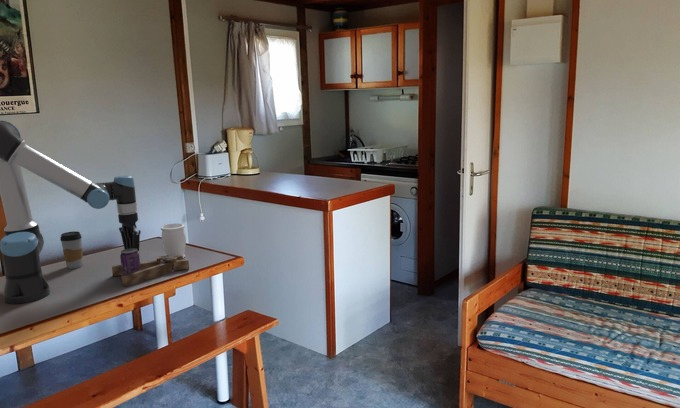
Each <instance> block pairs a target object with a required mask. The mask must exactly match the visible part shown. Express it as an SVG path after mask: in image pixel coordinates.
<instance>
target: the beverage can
mask: <svg viewBox="0 0 680 408" xmlns="http://www.w3.org/2000/svg"><path fill="white" fill-rule="evenodd" d="M119 257H120V258H119V259H120V265H121V267H122V275H121V276H124V275H127V274H130V273H133V272H137V271H140V270H141V266H140V262H141V259H140V257H141V256H140V252H139V251H137V249H135V248H130V249H123V250H120V256H119Z"/></svg>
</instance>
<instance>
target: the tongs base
mask: <svg viewBox="0 0 680 408" xmlns="http://www.w3.org/2000/svg"><path fill="white" fill-rule="evenodd" d="M174 257H177V260H183V259H184V258H183V256H182V255H178V256H174ZM173 267H174V262H173V261H168V262H167V261H164V262H161V264H159V265H156V266H153V267H150V268H146V269H143V270H140V271H137V272H133V273H130V274H127V275H124V276H123V275H120V278H121V285H122V287H124V288H127V287H130V286H133V285H136V284H139V283H143V282H145V281H147V280H151V279H154V278H156V277H160V276H163V275H165V274H169V273H172V272H173V269H174V268H173Z"/></svg>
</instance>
